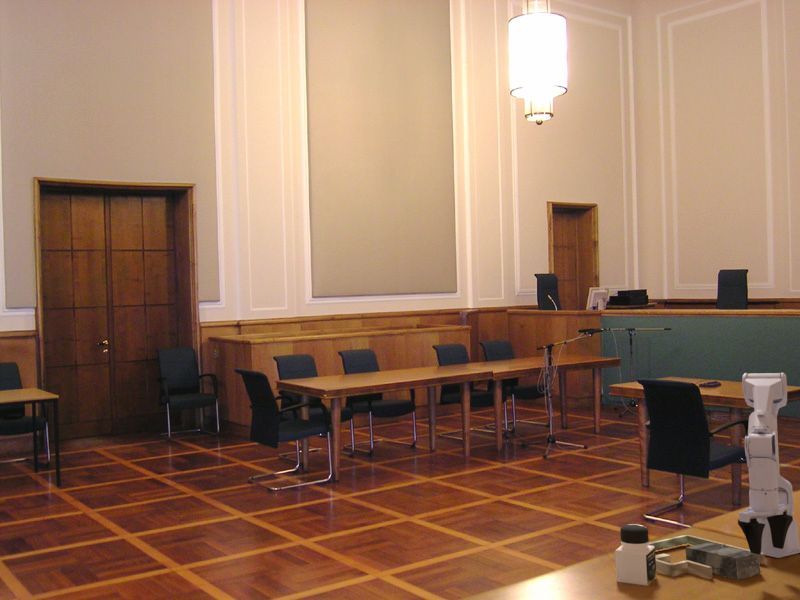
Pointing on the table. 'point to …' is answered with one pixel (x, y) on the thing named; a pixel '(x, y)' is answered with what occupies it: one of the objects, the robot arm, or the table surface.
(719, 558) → the stone block
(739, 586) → the table surface
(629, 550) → the medicine bottle
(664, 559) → the trap lane
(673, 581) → the table surface
